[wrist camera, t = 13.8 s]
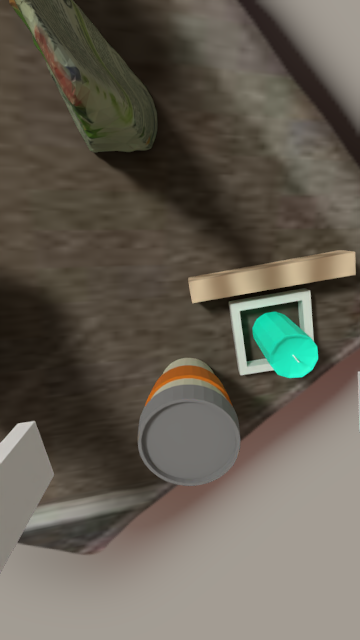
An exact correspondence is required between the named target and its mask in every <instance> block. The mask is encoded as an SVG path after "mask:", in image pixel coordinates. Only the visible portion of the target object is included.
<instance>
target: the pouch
mask: <svg viewBox="0 0 360 640" xmlns="http://www.w3.org/2000/svg"><path fill="white" fill-rule="evenodd" d="M9 2H10V5H11V6H12V7H13V8H14V10H15V12H16V13H17V14H18V15H19V17H20V18H21V19H22V20H23V22H24V23H25V24H26V26H27V27H28V29H29V30H30V32H31V33H32V35H33V41H34V44H35V46H36V47H37V48H38V50H39V51H40V52H41V54H42V55H43V57H44V59H45V60H46V62H47V67H48V70H49V71H50V73H51V75H52V78H53V80H54V81H55V83H56V86H57V88H58V89H59V91H60V93H61V95H62V97H63V99H64V101H65V103H66V105H67V108H68V110H69V112H70V114H71V116H72V118H73V120H74V122H75V124H76V126H77V128H78V130H79V131H80V133H81V135H82V137H83V138H84V141H85V142H86V144H87V146H88V148H89V149H90V151H93V152H94V153H95V152H103V151H124V152H131V151H135V150H148V149H151V148H152V145H153V143H154V140H155V138H156V133H157V124H158V122H157V112H156V109H155V105H154V102H153V99H152V97H151V95H150V94H149V92H148V90H147V88H146V86H144V84H143V83H142V82H141V80H140V79H139V78H138V77H137V76H136V75H135V74H134V73H133V72H132V70H131V69H130V68H129V67H128V66H127V64H126V63H125V61H124V60H123V59H122V58H121V57H120V55H119V54H118V53H117V52H116V51H115V50H114V49H113V48H112V47H111V46H110V44H109V43H108V42H107V41H106V40H105V39H104V38H103V36H102V35H101V34H100V32H99V31H98V29H97V28H96V27H95V26H94V25H93V23H92V22H91V21H90V20H89V19H88V18H87V16H86V15H85V14H84V13H83V11H82V10H81V9H80V7H79V6H78V5H77V4H76V3H75V2H74V1H73V0H9Z"/></svg>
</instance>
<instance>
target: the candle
mask: <svg viewBox="0 0 360 640" xmlns="http://www.w3.org/2000/svg"><path fill="white" fill-rule="evenodd" d="M252 329H253V338H254V339H255V341H256V343H257V344H258V346H259V348H260V349H261V351H262V352H263V354H264V356H265V357H266V359H267V361H268V362H269V364H270V365H271V367H272V368H273V369H274V370H275V372H276V373H277V374H278V375H280V376H284V377H287V378H298V377H303V376H305V375H306V374H307V373H309V372H310V371H312V370H313V368H314V366H315V364H316V362H317V360H318V349H317V345H316V344H315V343H314V341H313V340H312V339H311V337H309V336H308V335H307V334H306V333H305V332H304V331H303V330H301V329H300V328H299V327H298V326H297V325H296V324H294V323H293V322H292V321H291V320H290V319H289V318H288V317H286V316H285V315H284V314H281V313H278V312H275V311H274V312H268V313H264V314H263V315H262V316H260V317H259V318H258V319H256V322H255V324H254V326H253V328H252Z"/></svg>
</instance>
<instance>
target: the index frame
mask: <svg viewBox="0 0 360 640" xmlns="http://www.w3.org/2000/svg"><path fill="white" fill-rule="evenodd" d="M295 301H298V309H299V321H300V329H301V330H303V331H304V332H305V333H306V334H307V335H308V336H309V337H311V339H312V340H313V341H314V336H313V322H312V308H311V294H310V290H308V289H306V288H303V289H297V290H291V291H285V292H280V293H274V294H268V295H262V296H257V297H251V298H245V299H239V300H233V301H228V302H229V309H230V316H231V323H232V330H233V336H234V343H235V350H236V357H237V364H238V370H239V373H240V375H246V374H252V373H259V372H265V371H272V370H274V369H273V368H272V367H271V365H270V364H269V362H268V361H267V359H259V360H253V361H247V362H246V355H245V347H244V340H243V333H242V325H241V318H240V311H242V310H248V309H254V308H260V307H265V306H271V305H277V304H283V303H289V302H295Z"/></svg>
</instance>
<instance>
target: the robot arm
mask: <svg viewBox="0 0 360 640" xmlns="http://www.w3.org/2000/svg"><path fill="white" fill-rule="evenodd" d="M358 395H359V396H358V397H359V431H360V372H358ZM53 476H54V473H53V470H52V467H51V464H50V461H49V459H48V456H47V453H46V450H45V447H44V445H43V442H42V439H41V436H40V433H39V431H38V428H37V425H36V422H35V421H31V422H24V423H18V424H17V425H16V426H15V427H14V428H13V429H12V431H11V432H10V433H9V434H8V435H7V436H6V437H5V438H4V440H3V441H2V442H1V443H0V573H1V571H2V569H3V568H4V566H5V564H6V562H7V560H8V558H9V556H10V555H11V553H12V551H13V549H14V547H15V546H16V544H17V542H18V540H19V538H20V536H21V535H22V533H23V531H24V529H25V527H26V525H27V524H28V522H29V520H30V518H31V516H32V514H33V513H34V511H35V509H36V507H37V505H38V503H39V502H40V500H41V498H42V496H43V494H44V492H45V491H46V489H47V487H48V485H49V483H50V481H51V480H52V478H53Z"/></svg>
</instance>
